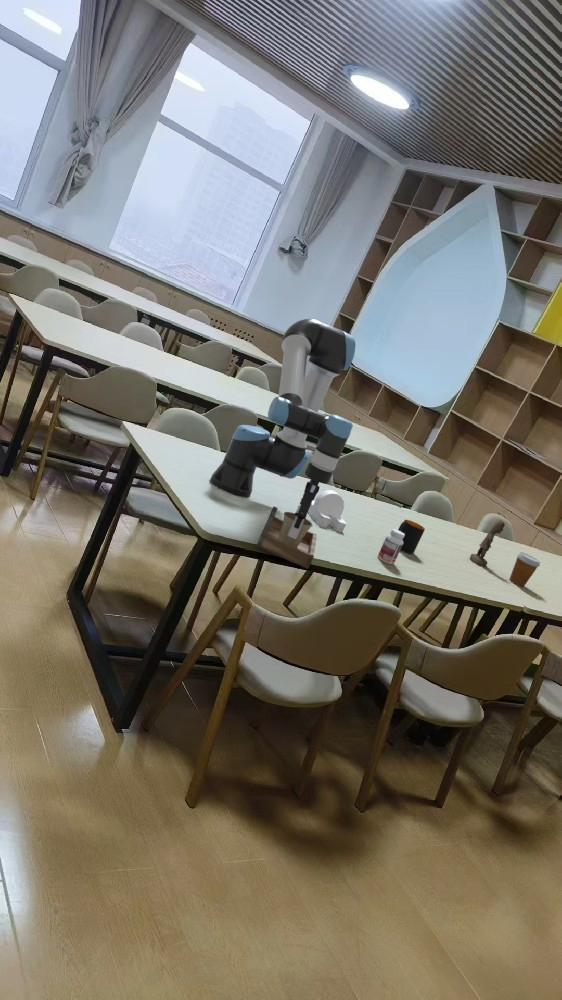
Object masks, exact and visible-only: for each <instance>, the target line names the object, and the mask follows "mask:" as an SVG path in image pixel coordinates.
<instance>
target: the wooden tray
mask: <svg viewBox="0 0 562 1000" xmlns="http://www.w3.org/2000/svg"><path fill="white" fill-rule="evenodd" d="M278 509H279V508H278V507H276V506H272V509H271V510H270V513H269V515H268V517H267V519H266V522H265V524H264V527H263V529H262V531H261V533H260V536H259V539H258V541H257V544H256V545H255V546H256V548H257V549H260V550H263V551H264V552H267V553H270V554H272V555H274V556H277V557H279V558H282V559H283V560H286V561H289V562H290V563H294V564H295V565H299V566H301V567H303V568H305V569H307V570H308V569H309V568H310V566H311V564H312V561H313V560H314V557H315V551H316V544H317V538H318V534H316V533H314V532H311V531H309V530H308V531H307V532H306V534H305V535H304V537H303V539H302V540H301V542H300V543H299V545H298V547H297V548H295V547H293V546H291V545H288V544H286V543H284V542H281V541H279V540H278V538H279V534H280V531H281V528H282V524H283V520H284V519H281V518H278V517H276V514H277V511H278Z"/></svg>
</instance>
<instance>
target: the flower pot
mask: <svg viewBox="0 0 562 1000" xmlns="http://www.w3.org/2000/svg"><path fill="white" fill-rule="evenodd" d="M294 514H295V513H294V512H291V511H284V512H283V518H282V520H283V524H282V528H281V531H280V534H279V538H278V540H279V541H281V542H284V543H286V544H288V545H291V546H293V547H295V548H297V547H298V545H299V543H300V542H301V540H302V539H303V537H304V535H305V534H306V532H307V531H309V530H310V528H312V527H314V524H313V522H311V520H309V519H307V517H306V518H305V520H304V522H303V525H302V527H301V529H300V531H299V534H298V536H297V538H296V539H294V538H292V537H289V536H288V533H289V531H290V528H291V526H292V524H293V522H294V519H295V517H296V516H295V515H294Z"/></svg>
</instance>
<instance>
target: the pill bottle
mask: <svg viewBox="0 0 562 1000" xmlns="http://www.w3.org/2000/svg"><path fill="white" fill-rule="evenodd" d="M404 536H405V534H404V533H402V532H401V531H399V530H398V529H396V528H392V529H391V531H390V534H388V535H386V536H385V538H384V540H383V543H382V546H381V547H380V550H379V552H378V554H377V558H378V560H380V561H381V562H383V563H386V564H389V565H394V564H395V563H396V561H397V559H398V556H399V554H400V552H401V548H402V545H403V540H402V539H403V538H404Z"/></svg>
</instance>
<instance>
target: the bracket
mask: <svg viewBox="0 0 562 1000" xmlns="http://www.w3.org/2000/svg"><path fill="white" fill-rule="evenodd" d="M316 496H317V497H315V499H314V500H313V501H312V503H311V506H310V508H309V510H308V513H307V514H309V515H310V517H311V518H312V520H314V522H316V524H317V525H318V526H320V527H322V528H325V529H327V528H328V527H329V526H331V527H332V528H333V530H335V531H336V532H339V533H341V534H342V533H343V532H344V531H345V528H346V526H347V522H346V521H345V520H344V519H343V518H342V517H341V516H342V514H343V512H344V508H345V502H344V499H343V497H342V496H341V495H339V493H338V492H336V491H335V490H332V489H328V490H323V491H322V492H321V493H319V494H318V495H316Z"/></svg>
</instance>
